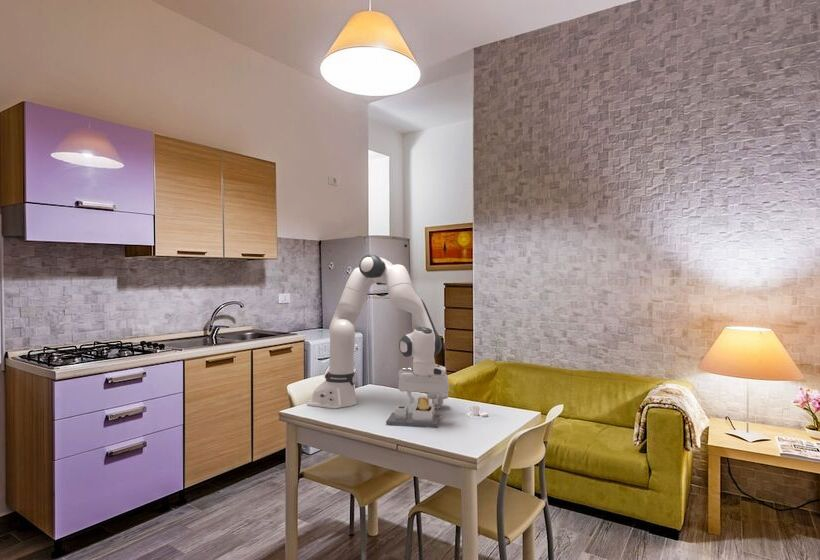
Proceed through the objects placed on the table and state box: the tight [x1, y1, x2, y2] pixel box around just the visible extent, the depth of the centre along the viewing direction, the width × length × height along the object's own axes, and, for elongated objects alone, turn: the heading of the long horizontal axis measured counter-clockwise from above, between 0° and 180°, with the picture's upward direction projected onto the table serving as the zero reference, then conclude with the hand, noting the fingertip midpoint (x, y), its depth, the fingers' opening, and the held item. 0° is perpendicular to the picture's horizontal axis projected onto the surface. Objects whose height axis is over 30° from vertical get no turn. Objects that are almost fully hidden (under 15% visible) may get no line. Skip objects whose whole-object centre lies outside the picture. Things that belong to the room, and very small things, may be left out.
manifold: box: [385, 404, 441, 429], centre depth 184 cm, size 20×12×6 cm, turn 80°
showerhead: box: [426, 392, 449, 410], centre depth 203 cm, size 9×7×10 cm
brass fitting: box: [417, 396, 430, 411], centre depth 183 cm, size 4×4×8 cm
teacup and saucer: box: [466, 404, 489, 419], centre depth 193 cm, size 9×8×4 cm
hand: (423, 403), depth 183 cm, fingers open, 8 cm apart
